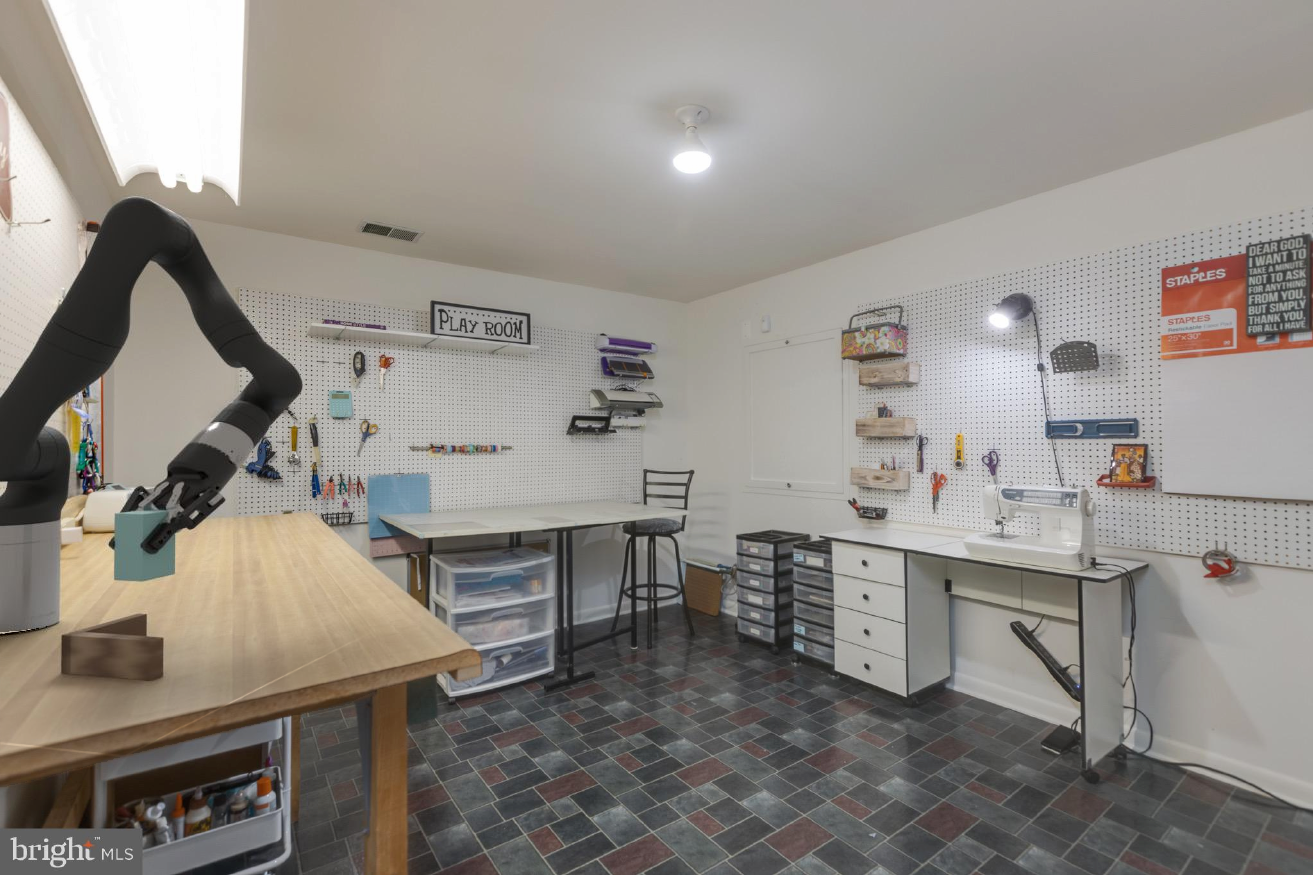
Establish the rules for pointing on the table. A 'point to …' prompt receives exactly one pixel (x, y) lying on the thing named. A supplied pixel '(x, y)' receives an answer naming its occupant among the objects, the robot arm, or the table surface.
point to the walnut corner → (114, 650)
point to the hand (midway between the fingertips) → (131, 549)
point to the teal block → (129, 554)
